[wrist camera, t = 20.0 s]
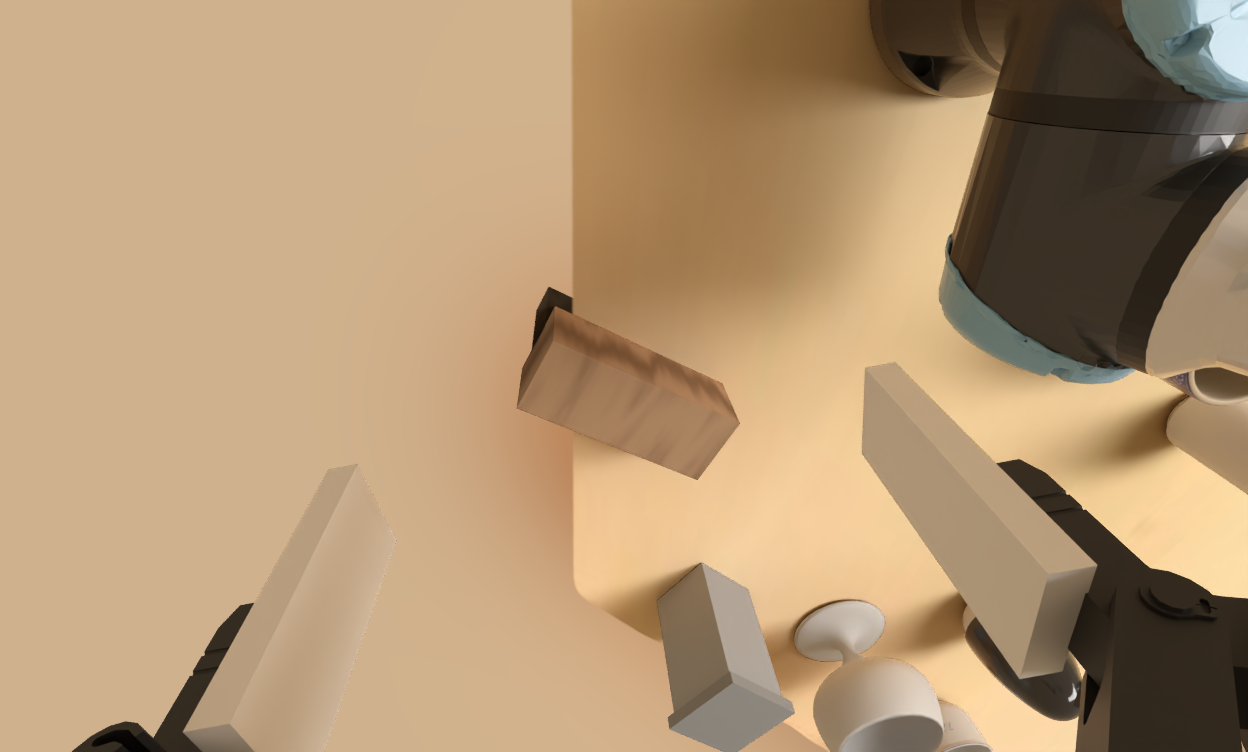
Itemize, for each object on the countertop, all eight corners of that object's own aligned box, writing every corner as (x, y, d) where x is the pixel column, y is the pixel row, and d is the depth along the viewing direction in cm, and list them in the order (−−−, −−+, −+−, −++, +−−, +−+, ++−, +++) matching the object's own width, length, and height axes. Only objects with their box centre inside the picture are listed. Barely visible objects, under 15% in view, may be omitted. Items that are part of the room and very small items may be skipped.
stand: (651, 601, 73) (669, 729, 59) (701, 558, 70) (732, 682, 56) (703, 628, 76) (732, 755, 63) (753, 588, 73) (795, 712, 60)
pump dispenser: (1038, 604, 79) (1131, 717, 66) (964, 638, 82) (1040, 753, 69) (1015, 562, 75) (1110, 675, 62) (938, 600, 77) (1014, 716, 64)
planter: (1196, 322, 59) (1319, 378, 49) (1084, 362, 60) (1182, 425, 51) (1207, 221, 54) (1347, 262, 44) (1083, 268, 55) (1193, 318, 45)
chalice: (878, 578, 74) (944, 693, 61) (900, 641, 81) (963, 757, 68) (772, 616, 76) (814, 736, 63) (802, 674, 83) (845, 793, 70)
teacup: (927, 683, 86) (959, 739, 80) (978, 700, 90) (1012, 756, 83) (864, 734, 92) (888, 791, 85) (914, 749, 95) (941, 805, 88)
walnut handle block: (671, 389, 69) (528, 325, 64) (703, 340, 66) (557, 270, 61) (697, 480, 55) (516, 408, 50) (739, 423, 52) (553, 340, 47)
